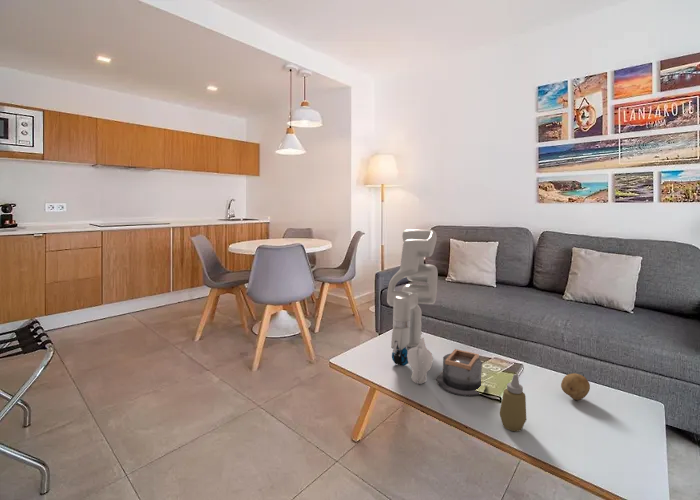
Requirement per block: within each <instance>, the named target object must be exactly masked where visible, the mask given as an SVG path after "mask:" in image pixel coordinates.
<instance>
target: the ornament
mask: <svg viewBox="0 0 700 500" xmlns="http://www.w3.org/2000/svg"><path fill="white" fill-rule="evenodd" d="M398 349H399V348H398ZM397 352H399V350H397ZM407 352H408V348H407V349H406V348H403V349H402V351H401V356H402V363H401V365H399V364H396V365H397V366H400V367H401V366H403V367H404V366H406V365H409V363H408V358H407V354H408V353H407ZM391 360H392V361H393V363H394V362H395V355H394V353H393V351H392V352H391Z"/></svg>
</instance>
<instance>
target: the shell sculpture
mask: <svg viewBox="0 0 700 500" xmlns="http://www.w3.org/2000/svg"><path fill="white" fill-rule="evenodd" d="M424 338H425V337H421V340H420V341H421V344H420V343H419V344H418V345H417V346H416V347H414V348H412V347H410V348H409V349H407V351H408V352H407V353H408V354H407V358H408V365H409V367H410V368H411V370H412V373H411V376H410V377H411V378H410V379H411V381H412V382H414V383H415V384H417V385H421V384H424V383H425V382H427V374H428V371H430V370H431V368H432V366H433V360H434V358H433V354H432V352H431V351H430V350H429V349H428V348H427V345H426V342H425V339H424Z"/></svg>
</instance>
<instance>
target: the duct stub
mask: <svg viewBox="0 0 700 500" xmlns="http://www.w3.org/2000/svg"><path fill="white" fill-rule="evenodd" d="M479 358H480V354H479V353H475V352H470V351H466V350H460V349H457V348H454V350H453V351H452V352H451V353H448V354H445V355H444V356H443V357H442V372H441V373H439V374H438V376H437V385H438V386H439V387H440V389H442V390H443V391H445V392H448V393H449V394H453V395H456V396H460V397H477V396H480V394H479V392H477V391H475V390H476V389H478V388H479V387H480V386H481V378H482V369H483V362H482V361H481V359H479Z"/></svg>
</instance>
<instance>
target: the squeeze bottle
mask: <svg viewBox="0 0 700 500" xmlns="http://www.w3.org/2000/svg"><path fill="white" fill-rule="evenodd" d="M523 390H524V387H523V385H522V384H520V380H519V375H518V374H513V376H512V379H511V382H508V383H507V384H506V388H505V389H503V394H502V398H501V404H500V408H499V416H500V420H501V423H502V426H503V427H504V428H505V429H507V430H509V431H512V432H520V431H522V429H523V428H524V426H525V424H526V421H527V403H526V402H527V400H526V393H525V392H524V391H523Z"/></svg>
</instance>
